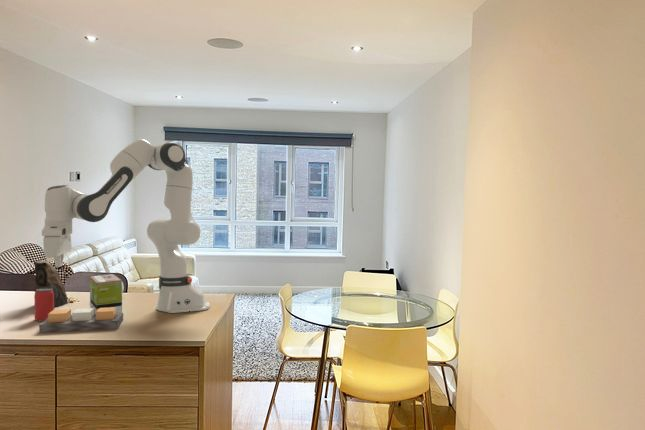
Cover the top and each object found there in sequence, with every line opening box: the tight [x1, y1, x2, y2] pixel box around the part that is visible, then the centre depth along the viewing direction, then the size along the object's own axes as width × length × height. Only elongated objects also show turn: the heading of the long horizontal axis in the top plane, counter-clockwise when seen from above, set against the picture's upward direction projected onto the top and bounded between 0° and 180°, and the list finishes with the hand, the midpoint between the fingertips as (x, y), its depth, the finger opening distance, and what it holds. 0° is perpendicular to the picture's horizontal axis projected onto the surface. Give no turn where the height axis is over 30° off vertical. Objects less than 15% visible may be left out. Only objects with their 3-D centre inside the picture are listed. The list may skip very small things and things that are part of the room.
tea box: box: [89, 273, 123, 314], centre depth 195 cm, size 15×10×15 cm
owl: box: [33, 259, 69, 309], centre depth 204 cm, size 13×13×20 cm
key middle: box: [71, 307, 94, 321], centre depth 175 cm, size 6×6×3 cm
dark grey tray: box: [38, 312, 124, 334], centre depth 175 cm, size 26×12×3 cm, turn 104°
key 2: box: [96, 307, 116, 320], centre depth 177 cm, size 6×6×3 cm
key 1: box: [48, 308, 72, 322], centre depth 173 cm, size 6×6×3 cm
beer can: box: [34, 288, 55, 322], centre depth 183 cm, size 7×7×12 cm
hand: (59, 266), depth 172 cm, fingers closed
